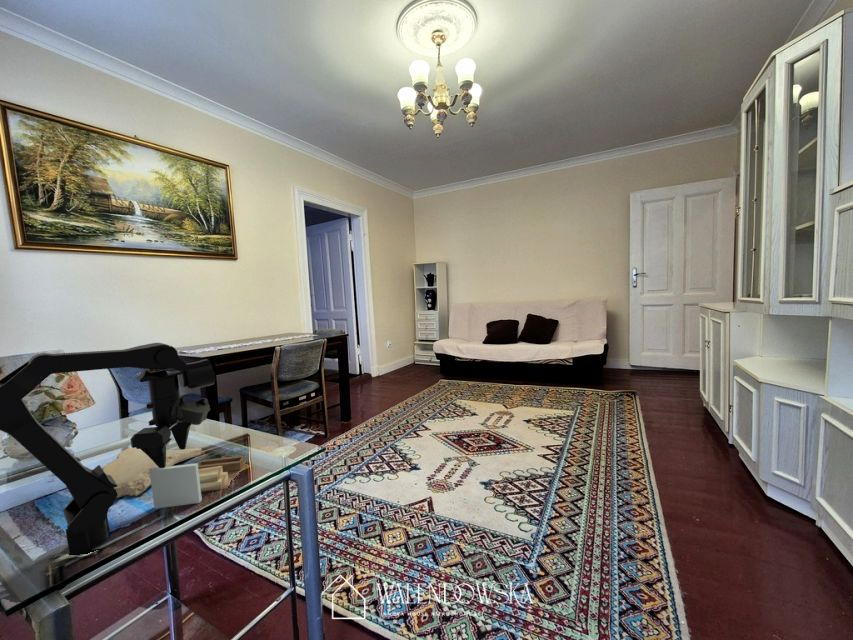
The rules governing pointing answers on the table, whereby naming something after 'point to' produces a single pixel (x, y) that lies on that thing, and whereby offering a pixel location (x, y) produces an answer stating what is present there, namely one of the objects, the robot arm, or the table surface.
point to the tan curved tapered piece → (140, 468)
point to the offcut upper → (210, 474)
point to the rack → (225, 467)
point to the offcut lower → (215, 483)
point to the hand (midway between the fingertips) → (173, 458)
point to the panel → (175, 485)
